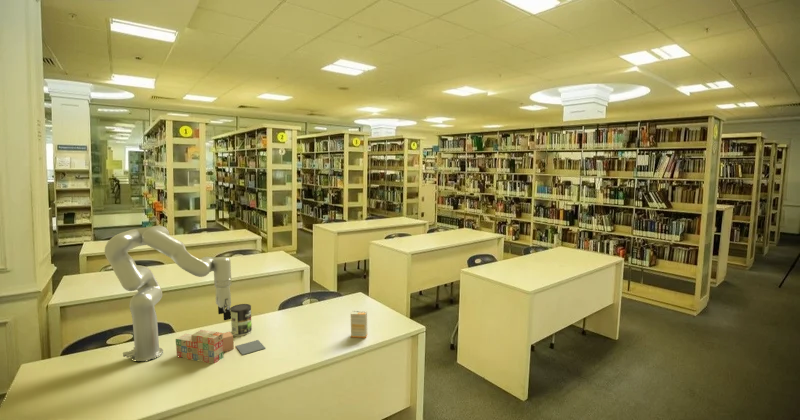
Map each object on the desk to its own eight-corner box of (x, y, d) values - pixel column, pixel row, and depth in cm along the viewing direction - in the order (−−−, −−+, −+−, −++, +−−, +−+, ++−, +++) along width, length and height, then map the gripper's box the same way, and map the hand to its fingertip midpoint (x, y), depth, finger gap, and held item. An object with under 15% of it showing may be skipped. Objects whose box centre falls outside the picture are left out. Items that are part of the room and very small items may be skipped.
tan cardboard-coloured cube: (220, 352, 184) (220, 339, 183) (217, 348, 188) (216, 334, 188) (233, 349, 187) (233, 335, 187) (230, 344, 192) (229, 331, 191)
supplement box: (367, 334, 205) (367, 310, 204) (365, 338, 201) (365, 314, 199) (352, 333, 206) (352, 310, 205) (350, 337, 201) (350, 313, 200)
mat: (242, 355, 181) (242, 354, 181) (235, 346, 190) (235, 345, 190) (265, 348, 188) (265, 347, 188) (258, 340, 197) (258, 339, 197)
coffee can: (255, 328, 212) (254, 303, 210) (247, 336, 202) (246, 310, 200) (236, 327, 212) (235, 303, 211) (228, 336, 202) (226, 310, 200)
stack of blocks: (176, 357, 179) (174, 332, 178) (186, 351, 185) (185, 327, 184) (214, 363, 174) (213, 338, 172) (224, 357, 180) (223, 332, 178)
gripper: (210, 279, 189) (211, 313, 191) (219, 288, 175) (221, 324, 177) (226, 277, 194) (227, 309, 195) (236, 285, 180) (237, 320, 182)
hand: (224, 316), depth 186 cm, fingers open, 9 cm apart
